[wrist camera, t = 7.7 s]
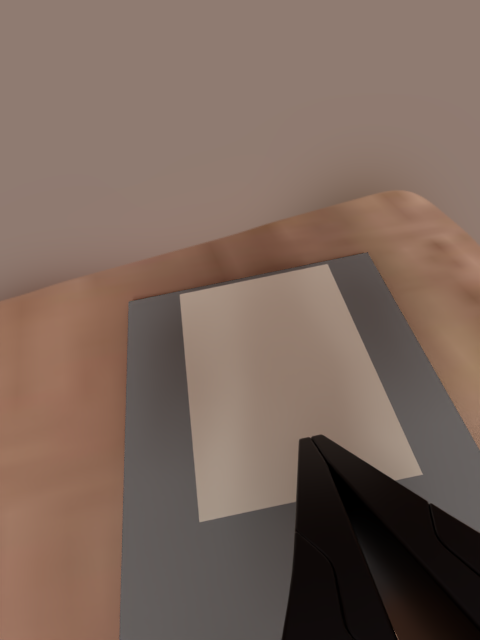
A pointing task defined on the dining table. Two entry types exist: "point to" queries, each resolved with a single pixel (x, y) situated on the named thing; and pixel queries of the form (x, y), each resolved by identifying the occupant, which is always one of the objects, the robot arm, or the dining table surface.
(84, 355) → the dining table surface
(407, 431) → the mat
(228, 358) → the cream flat block
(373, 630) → the robot arm
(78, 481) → the dining table surface
